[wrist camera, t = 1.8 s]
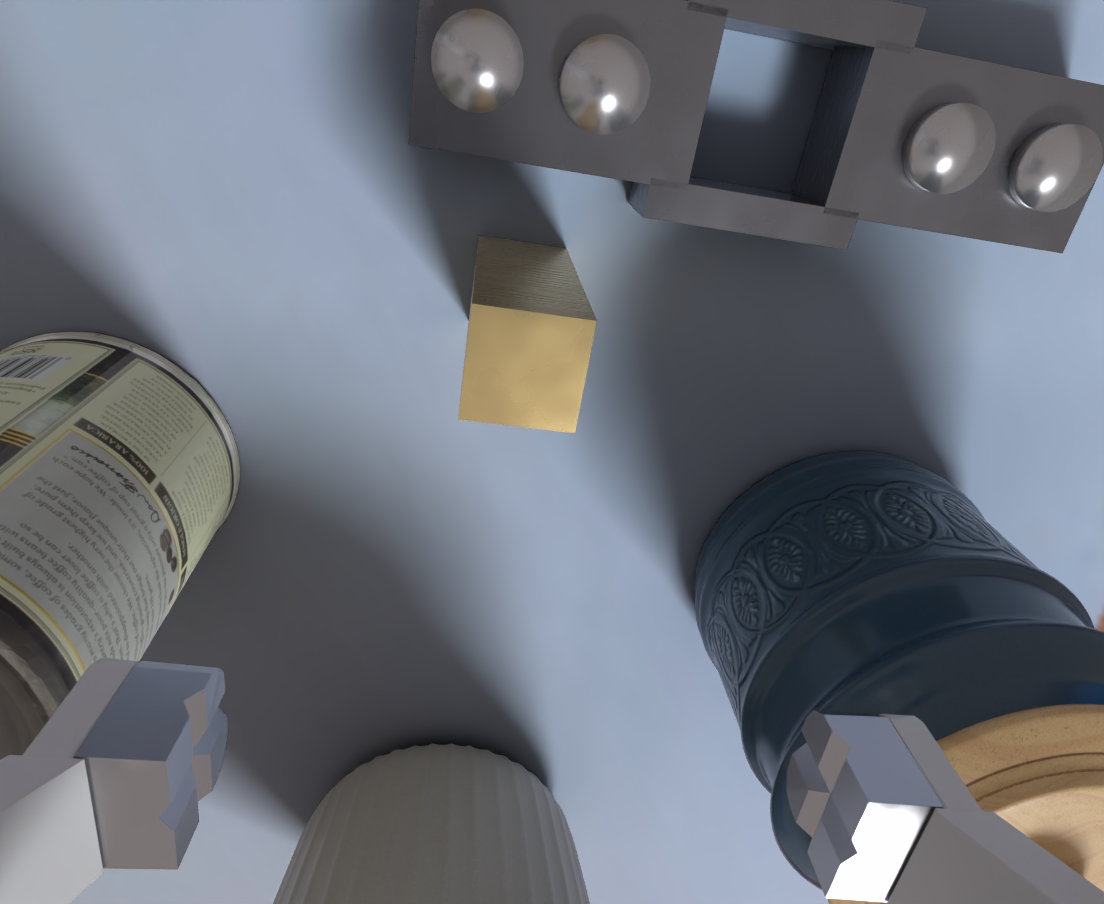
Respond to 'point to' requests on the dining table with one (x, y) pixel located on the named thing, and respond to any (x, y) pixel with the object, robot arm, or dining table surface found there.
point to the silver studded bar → (835, 136)
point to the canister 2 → (906, 643)
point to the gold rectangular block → (526, 337)
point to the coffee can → (97, 510)
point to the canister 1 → (436, 835)
